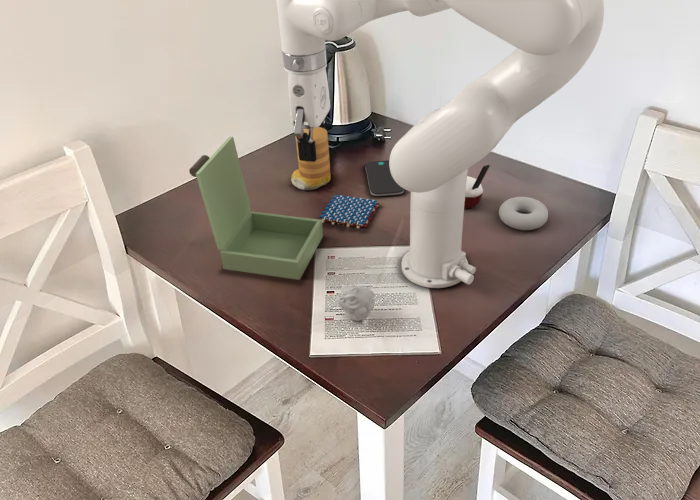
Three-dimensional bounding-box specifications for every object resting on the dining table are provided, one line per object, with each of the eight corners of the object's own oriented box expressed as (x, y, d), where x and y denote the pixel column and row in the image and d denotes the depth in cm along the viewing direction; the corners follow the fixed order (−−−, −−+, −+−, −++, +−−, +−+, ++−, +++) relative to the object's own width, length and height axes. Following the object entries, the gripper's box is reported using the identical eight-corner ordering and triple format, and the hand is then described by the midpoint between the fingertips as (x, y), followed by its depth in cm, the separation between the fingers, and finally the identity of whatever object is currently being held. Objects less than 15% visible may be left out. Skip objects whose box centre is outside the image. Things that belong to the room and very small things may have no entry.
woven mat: (366, 232, 136) (366, 224, 135) (318, 225, 139) (317, 217, 138) (380, 206, 144) (380, 198, 143) (335, 200, 147) (334, 192, 146)
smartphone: (396, 159, 159) (405, 191, 147) (396, 162, 159) (405, 194, 147) (364, 161, 159) (371, 194, 146) (364, 164, 159) (371, 197, 147)
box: (323, 239, 135) (321, 219, 132) (300, 283, 124) (297, 262, 121) (252, 230, 139) (249, 211, 136) (223, 272, 127) (220, 252, 125)
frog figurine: (331, 313, 116) (328, 282, 112) (366, 301, 119) (365, 270, 114) (345, 334, 112) (343, 303, 108) (382, 321, 114) (381, 290, 110)
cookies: (333, 164, 129) (330, 127, 124) (325, 180, 124) (322, 141, 120) (304, 162, 130) (300, 125, 126) (295, 177, 126) (290, 139, 121)
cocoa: (448, 195, 147) (451, 146, 140) (476, 192, 147) (480, 144, 140) (458, 218, 139) (461, 168, 132) (487, 215, 139) (492, 165, 132)
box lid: (233, 136, 126) (208, 136, 128) (199, 173, 115) (173, 173, 116) (251, 209, 135) (228, 208, 137) (221, 250, 124) (197, 248, 126)
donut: (531, 239, 132) (556, 217, 138) (533, 225, 130) (558, 203, 135) (488, 222, 138) (514, 201, 143) (490, 208, 136) (516, 188, 141)
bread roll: (337, 179, 154) (336, 164, 152) (310, 195, 149) (308, 179, 147) (313, 168, 159) (311, 153, 157) (285, 183, 154) (283, 168, 152)
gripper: (311, 78, 107) (319, 175, 117) (338, 43, 120) (343, 133, 131) (267, 76, 108) (280, 172, 119) (298, 41, 122) (307, 130, 132)
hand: (313, 151), depth 125 cm, fingers closed on cookies, 6 cm apart
